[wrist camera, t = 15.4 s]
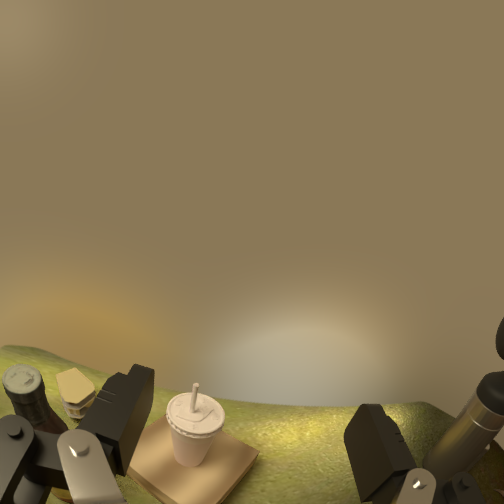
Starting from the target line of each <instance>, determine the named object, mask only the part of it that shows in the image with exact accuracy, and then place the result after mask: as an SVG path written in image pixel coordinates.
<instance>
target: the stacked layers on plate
mask: <svg viewBox="0 0 504 504" xmlns="http://www.w3.org/2000/svg"><path fill="white" fill-rule="evenodd" d="M56 378H57V383H58V387H59V392H60V395H61V399H62V402H63V405H64V409H65V411H66V413H67V414H68V415H69V417H73V418H78V419H81V418H83V417H84V415H85V414H86V412H87V411H88V409H89V407H90V406H91V404H92V403H93V401H94V399H95V395H96V394H95V390H94V388H95V387H94V384H93V383H92V382H91V381H90V380H89V379H87V378H86V377H85V376H84V375H83V374H82V373H81V372H80V371H79V370H77V369H76V368H73V369H70V370H67V371H64V372H61V373H58V374H56Z"/></svg>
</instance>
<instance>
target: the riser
mask: <svg viewBox="0 0 504 504" xmlns="http://www.w3.org/2000/svg"><path fill="white" fill-rule="evenodd" d="M259 452H260V451H258V450H256V449H254V448H252V447H250V446H249V445H247V444H245V443H243V442H241V441H239V440H238V439H236V438H234V437H232V436H230V435H229V434H227V433H225V432H223V431H222V430H221V431H220V432H218V433H217V434H216V436H215V437H214V439H213V441H212V443H211V445H210V447H209V449H208V451H207V453H206V455H205V457H204V459H203V460H202V462H201V463H200V464H199V465H198V466H195V467H186V466H183V465H181V464H179V463H178V462H177V461H176V459H175V456H174V450H173V443H172V436H171V428H170V424H169V423H168V420H167V417H166V414H165V415H164V416H162V417H161V418H159V419H158V420H156V421H155V422H154V423H152V424H151V425H149V426H148V427H146V428H145V429H143V431H142V433H141V436H140V439H139V441H138V444H137V446H136V449H135V451H134V454H133V457H132V459H131V462H130V465H129V467H128V470H127V472H126V474H127V475H128V476H129V477H130V478H131V479H132V480H134V481H135V482H136V483H137V484H138V485H140V486H141V487H142V488H143V489H145V490H146V491H147V492H148V493H150V494H151V495H152V496H154V497H155V498H156V499H158V500H159V501H160V502H162V503H163V504H221V503H222V502H223V500H224V499H225V498H226V497H227V496H228V495H229V494H230V492H231V491H232V490H233V489H234V488H235V487H236V485H237V484H238V483H239V482H240V481H241V479H242V478H243V477H244V476H245V474H246V473H247V472H248V471H249V469H250V468H251V467H252V466H253V464H254V462H255V460H256V458H257V456H258V454H259Z"/></svg>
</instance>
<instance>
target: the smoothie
mask: <svg viewBox="0 0 504 504" xmlns="http://www.w3.org/2000/svg"><path fill="white" fill-rule="evenodd" d="M198 388H199V384H198V383H194V384H193V390H192V393H183V394H179V395H177V396H175V397H174V398H172V399H171V400H170V402H169V403H168V406H167V411H166V417H167V420H168V423H169V424H170V428H171V436H172V443H173V450H174V456H175V459H176V461H177V462H178V463H179V464H181V465H183V466H186V467H195V466H198V465H199V464H200V463H201V462H202V460H203V459H204V457H205V455H206V453H207V451H208V449H209V447H210V445H211V443H212V441H213V439H214V437H215V436H216V434H217V433H218V432H220V431H221V429H222V428H223V426H224V420H225V413H224V410H223V408H222V406H221V405H220V404H219V403H218V402H217V401H216V400H214V399H213V398H211V397H209V396H206V395H203V394H200V393H198Z"/></svg>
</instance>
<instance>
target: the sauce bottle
mask: <svg viewBox="0 0 504 504" xmlns="http://www.w3.org/2000/svg"><path fill="white" fill-rule="evenodd" d="M2 382H3V386H4V389H5V392H6V394H7V395H8V397H9V398H10V399H11V402H12V404H13V407H14V411H15V413H16V415H19V416H21V417H24V418H25V419H27V420H28V421H29V422H30V424H31V425H32V427H33V429H34V430H38V431H43V432H47V433H52V434H63V433H64V432H66V431H68V430H69V429H68V427H67V425H66V424H65V423H64V421H63V420H62V419H61V418H60V417H59V416H58V415H57V414H56V413H55V412H54V411H53V410H52V408H51V407H50V406H49V403H48V402H47V398H46V394H45V386H44V382H43V379H42V376H41V374H40V372H39V371H38V370H37V369H36V368H34V367H33V366H31V365H26V364H16V365H13V366H11V367H9V368H8V369H7V370H6V371H5V372H4V374H3V377H2ZM51 492H52V493H53V494H54V495H55V496H56V497H57V498H59V499H61V500H63V501H65V502H69V503H74V502H73V499H72V496H71V493H70V491H68V490H63V489H58V488H54V487H52V489H51Z"/></svg>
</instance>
